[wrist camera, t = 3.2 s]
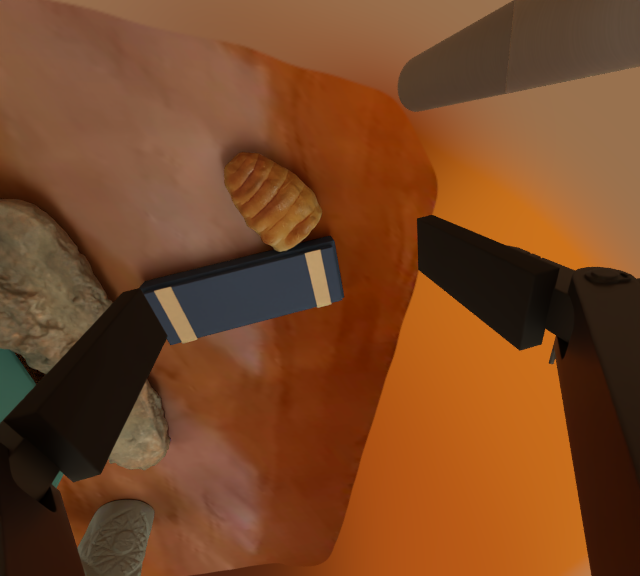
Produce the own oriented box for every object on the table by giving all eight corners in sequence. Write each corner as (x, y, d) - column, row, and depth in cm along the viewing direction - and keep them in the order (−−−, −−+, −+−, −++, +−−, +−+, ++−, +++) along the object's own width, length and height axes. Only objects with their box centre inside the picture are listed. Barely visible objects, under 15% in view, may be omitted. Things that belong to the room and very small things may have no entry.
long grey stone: (119, 450, 40) (191, 431, 42) (103, 490, 36) (186, 467, 38) (-70, 202, 23) (69, 187, 24) (-147, 221, 18) (30, 201, 20)
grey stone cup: (147, 490, 44) (110, 600, 33) (169, 522, 49) (143, 627, 38) (76, 507, 43) (15, 625, 32) (106, 538, 47) (61, 650, 37)
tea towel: (330, 235, 31) (336, 242, 28) (340, 290, 34) (346, 301, 32) (144, 281, 29) (134, 292, 27) (173, 334, 33) (167, 348, 30)
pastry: (208, 186, 26) (200, 192, 23) (258, 130, 25) (257, 128, 22) (281, 252, 30) (283, 265, 27) (326, 207, 29) (335, 215, 26)
